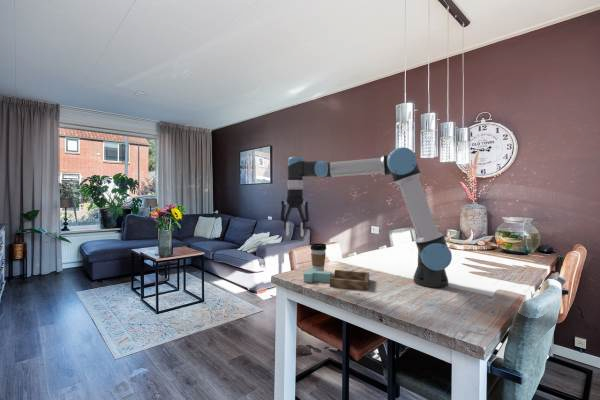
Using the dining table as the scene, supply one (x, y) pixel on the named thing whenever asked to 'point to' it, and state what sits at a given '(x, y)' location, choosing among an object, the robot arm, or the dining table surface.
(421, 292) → the dining table surface
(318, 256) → the coffee cup
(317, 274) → the tee block
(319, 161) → the robot arm
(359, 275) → the dock
